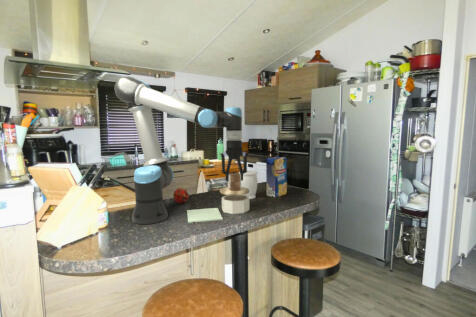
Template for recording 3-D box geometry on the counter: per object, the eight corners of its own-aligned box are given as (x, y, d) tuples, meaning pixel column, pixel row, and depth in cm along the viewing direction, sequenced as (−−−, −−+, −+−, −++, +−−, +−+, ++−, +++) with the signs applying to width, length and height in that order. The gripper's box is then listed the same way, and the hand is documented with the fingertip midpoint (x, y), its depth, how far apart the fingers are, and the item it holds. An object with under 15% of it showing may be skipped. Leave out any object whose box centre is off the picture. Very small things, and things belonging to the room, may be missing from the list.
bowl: (224, 214, 126) (224, 202, 125) (220, 206, 139) (220, 195, 138) (251, 212, 129) (251, 200, 128) (245, 205, 141) (244, 193, 141)
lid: (222, 196, 124) (222, 177, 123) (217, 189, 138) (217, 172, 137) (252, 194, 127) (252, 175, 126) (245, 187, 141) (245, 170, 140)
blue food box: (286, 193, 164) (286, 157, 161) (275, 197, 156) (275, 159, 154) (277, 192, 169) (277, 156, 166) (266, 195, 161) (266, 158, 158)
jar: (257, 195, 161) (257, 170, 160) (257, 199, 151) (257, 173, 149) (240, 195, 162) (239, 170, 161) (238, 199, 152) (238, 173, 150)
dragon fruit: (179, 202, 155) (185, 210, 145) (167, 195, 151) (173, 203, 141) (187, 189, 156) (194, 197, 146) (176, 182, 152) (182, 190, 141)
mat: (188, 223, 116) (188, 221, 116) (187, 211, 132) (187, 210, 132) (222, 220, 119) (222, 218, 119) (217, 208, 135) (217, 207, 135)
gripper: (216, 140, 124) (217, 190, 127) (253, 139, 128) (253, 188, 131) (214, 139, 132) (215, 186, 134) (249, 139, 135) (249, 185, 138)
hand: (234, 187), depth 132 cm, fingers closed on lid, 5 cm apart
